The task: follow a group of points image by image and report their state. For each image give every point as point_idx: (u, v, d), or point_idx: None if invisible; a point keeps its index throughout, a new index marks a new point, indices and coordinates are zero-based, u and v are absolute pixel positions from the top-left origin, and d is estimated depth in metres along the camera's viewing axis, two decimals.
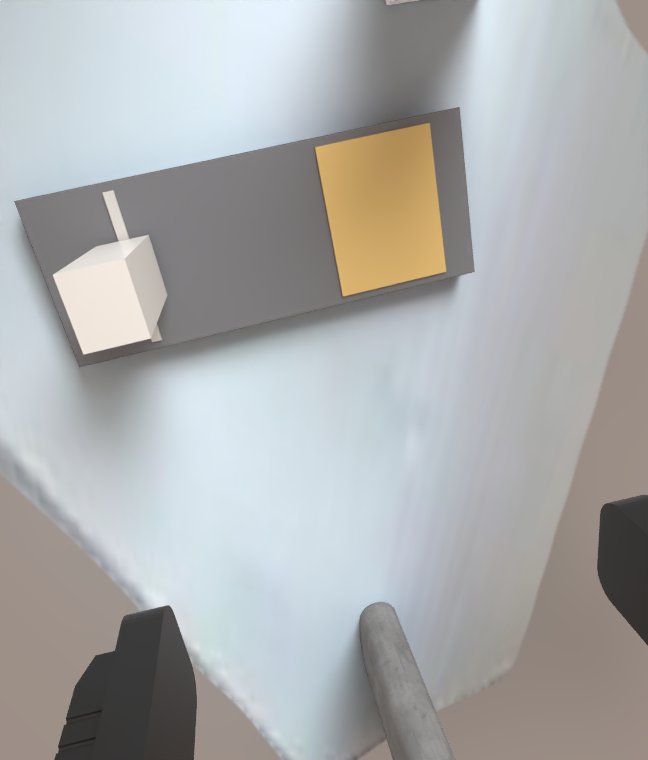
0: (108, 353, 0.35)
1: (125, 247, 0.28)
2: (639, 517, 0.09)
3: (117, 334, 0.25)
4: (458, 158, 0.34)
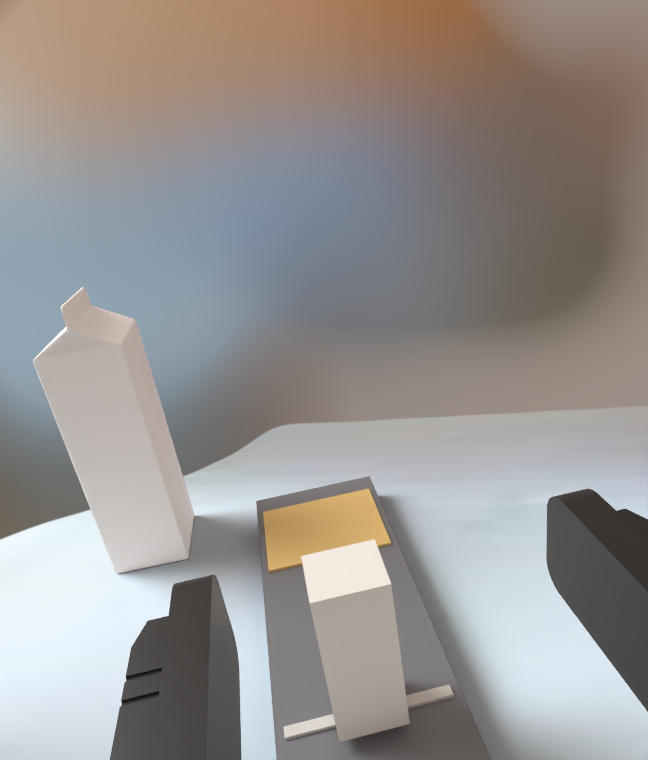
0: (476, 748, 0.27)
1: None
2: (580, 510, 0.10)
3: (370, 560, 0.26)
4: (289, 496, 0.48)
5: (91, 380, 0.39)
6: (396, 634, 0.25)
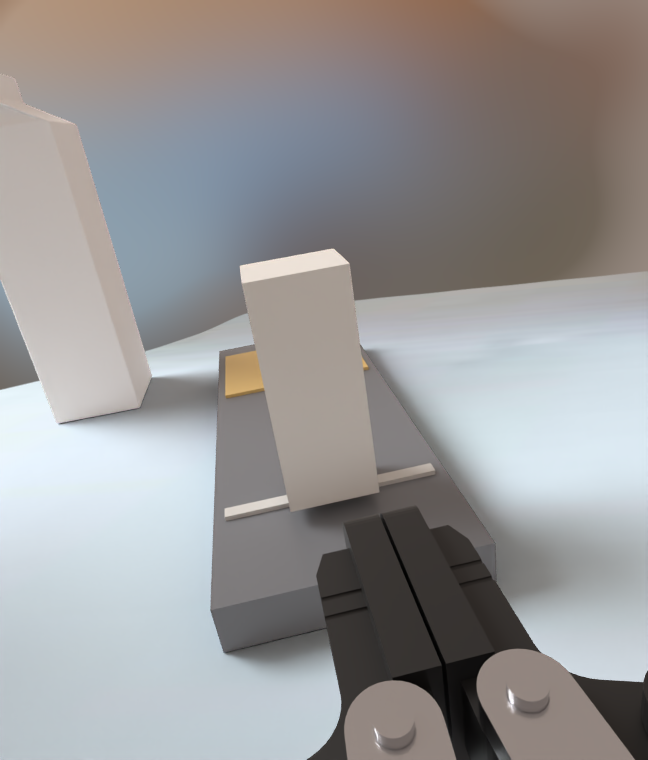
0: (462, 512, 0.21)
1: None
2: (397, 526, 0.10)
3: (325, 257, 0.20)
4: None
5: (16, 167, 0.33)
6: (358, 347, 0.20)
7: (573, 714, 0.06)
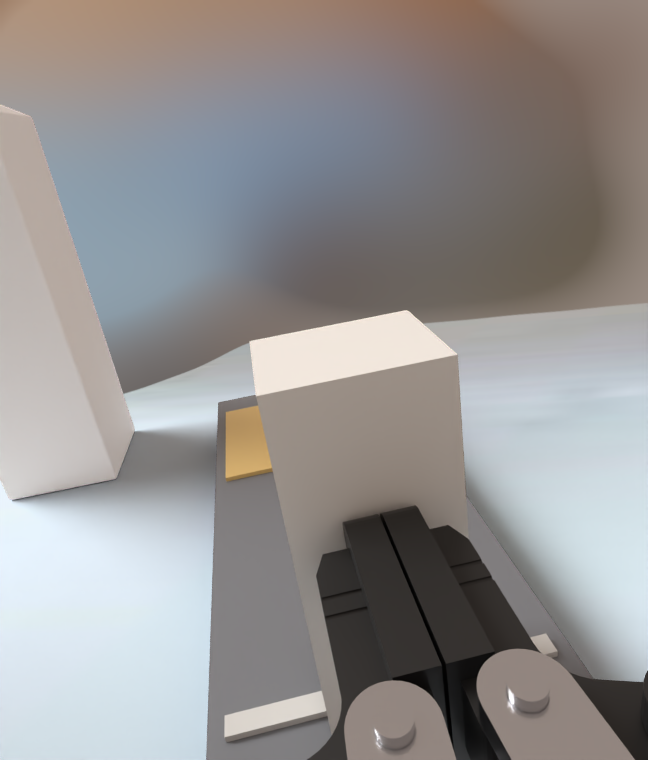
0: None
1: None
2: (397, 526, 0.10)
3: (401, 332, 0.11)
4: None
5: None
6: (462, 495, 0.11)
7: (573, 714, 0.06)
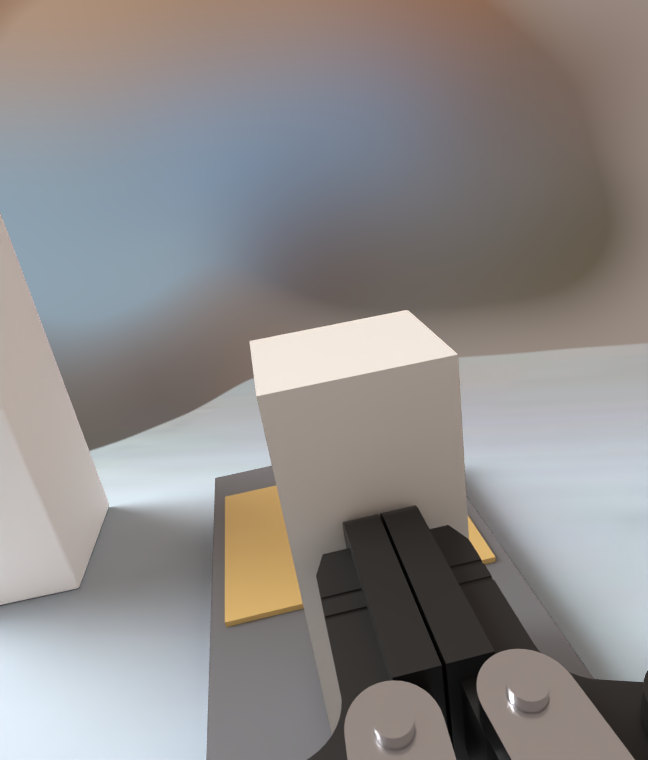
0: None
1: None
2: (397, 527, 0.10)
3: (401, 332, 0.11)
4: None
5: None
6: (462, 495, 0.11)
7: (573, 714, 0.06)
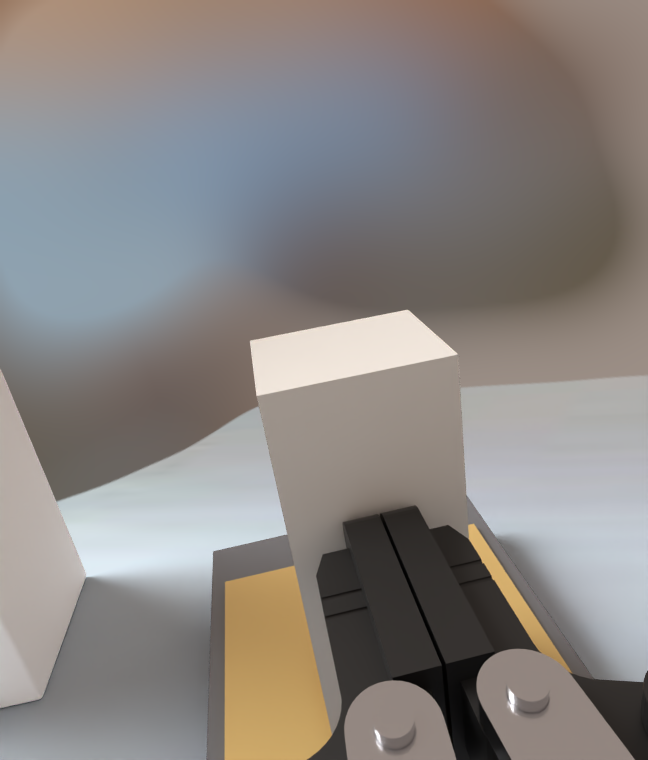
0: None
1: None
2: (397, 526, 0.10)
3: (401, 332, 0.11)
4: (287, 540, 0.21)
5: None
6: (463, 495, 0.11)
7: (573, 714, 0.06)
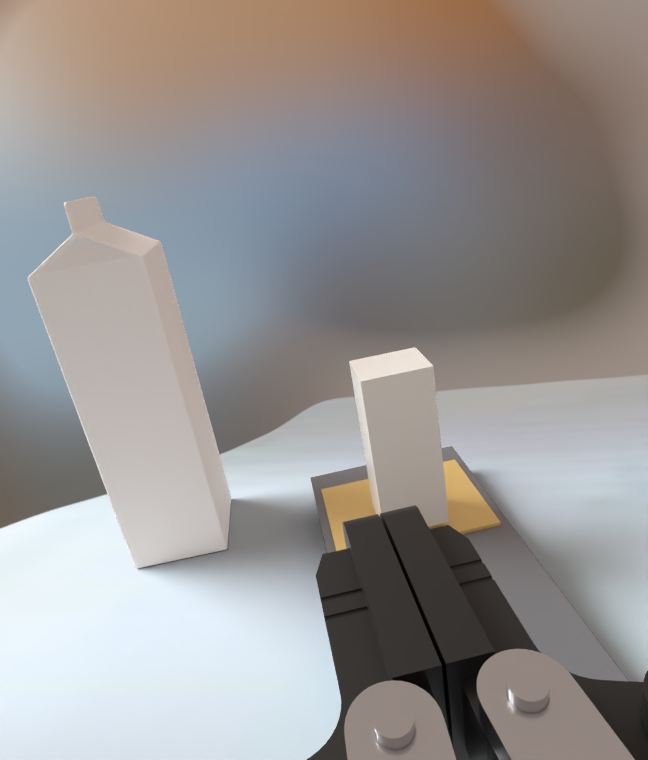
0: None
1: (364, 445, 0.31)
2: (397, 526, 0.10)
3: (412, 357, 0.28)
4: (351, 471, 0.38)
5: (103, 305, 0.29)
6: (437, 421, 0.28)
7: (573, 714, 0.06)
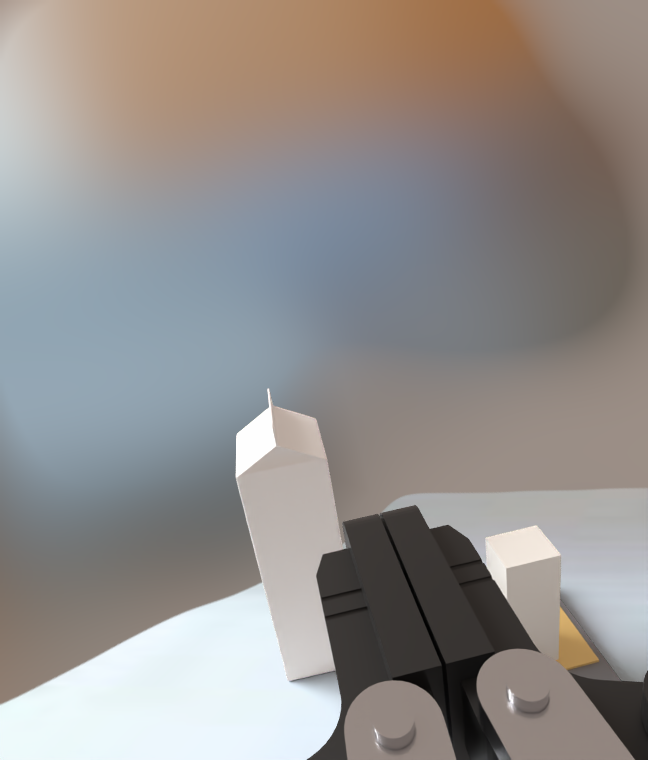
0: None
1: None
2: (397, 526, 0.10)
3: (539, 539, 0.36)
4: None
5: (292, 494, 0.36)
6: (559, 591, 0.36)
7: (573, 714, 0.06)
